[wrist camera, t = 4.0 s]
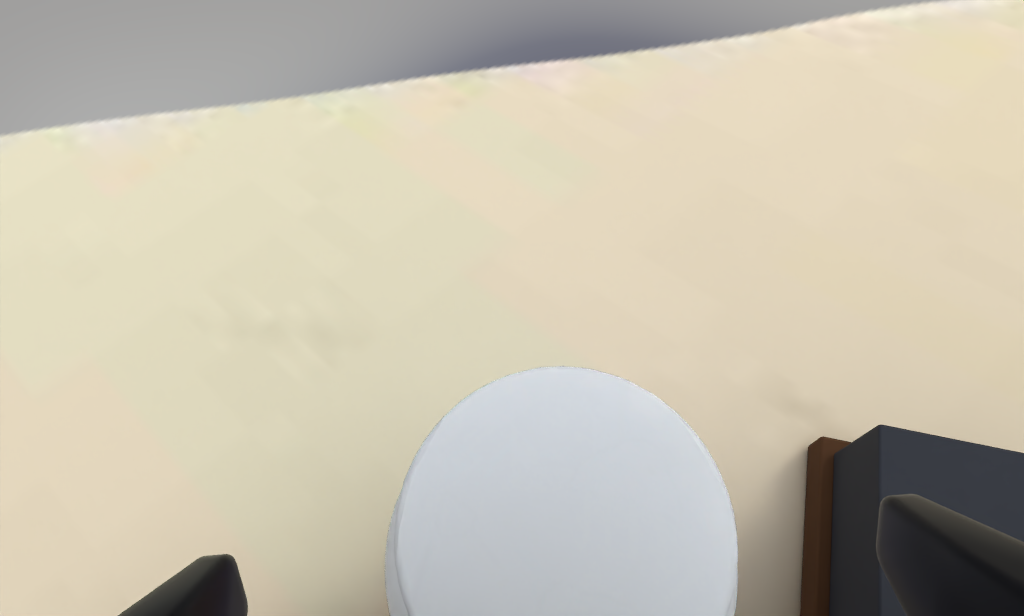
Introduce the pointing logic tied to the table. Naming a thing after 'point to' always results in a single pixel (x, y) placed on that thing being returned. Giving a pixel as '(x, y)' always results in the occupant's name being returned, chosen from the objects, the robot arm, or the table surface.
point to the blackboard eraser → (885, 472)
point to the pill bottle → (562, 507)
